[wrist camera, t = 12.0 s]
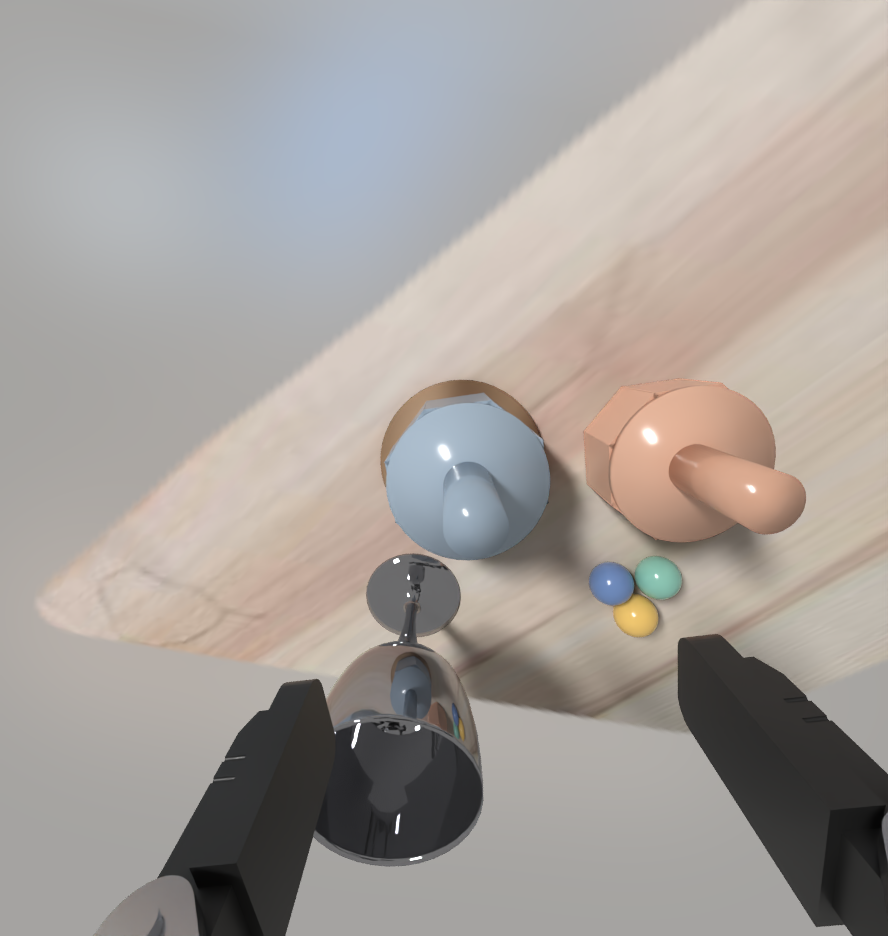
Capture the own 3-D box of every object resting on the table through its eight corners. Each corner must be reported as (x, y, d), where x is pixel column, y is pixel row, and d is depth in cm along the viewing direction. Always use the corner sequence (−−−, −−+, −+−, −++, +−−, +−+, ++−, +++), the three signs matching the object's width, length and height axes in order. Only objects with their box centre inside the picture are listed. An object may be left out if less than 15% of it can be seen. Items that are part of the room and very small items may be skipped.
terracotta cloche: (720, 370, 28) (897, 381, 17) (717, 502, 30) (869, 584, 19) (579, 391, 28) (665, 414, 17) (587, 519, 30) (666, 610, 20)
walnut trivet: (533, 368, 28) (535, 368, 27) (547, 523, 30) (549, 526, 30) (368, 392, 28) (366, 393, 27) (396, 543, 31) (395, 547, 30)
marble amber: (646, 583, 32) (666, 606, 29) (646, 617, 32) (666, 643, 30) (606, 588, 32) (622, 612, 29) (607, 622, 33) (623, 649, 30)
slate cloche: (525, 385, 27) (578, 405, 16) (537, 516, 30) (590, 609, 19) (384, 405, 28) (347, 437, 17) (407, 534, 30) (388, 634, 19)
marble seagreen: (668, 546, 31) (691, 566, 28) (668, 582, 32) (690, 605, 29) (626, 551, 31) (646, 572, 28) (628, 587, 32) (646, 610, 29)
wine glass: (442, 654, 33) (441, 885, 19) (346, 621, 32) (268, 837, 18) (482, 570, 31) (515, 756, 17) (381, 533, 31) (325, 694, 16)
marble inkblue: (622, 552, 31) (641, 572, 28) (624, 588, 32) (642, 611, 29) (582, 557, 31) (596, 578, 28) (584, 593, 32) (598, 617, 29)
